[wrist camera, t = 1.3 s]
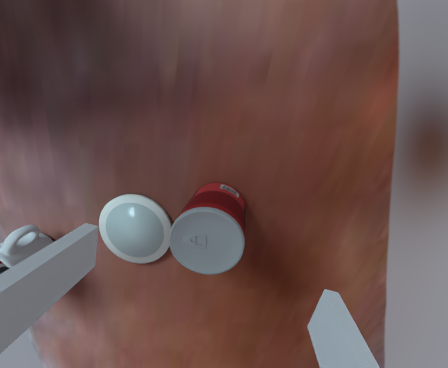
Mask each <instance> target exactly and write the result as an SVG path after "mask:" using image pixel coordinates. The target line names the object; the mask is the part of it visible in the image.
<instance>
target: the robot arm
mask: <svg viewBox="0 0 448 368" xmlns="http://www.w3.org/2000/svg"><path fill="white" fill-rule="evenodd" d="M97 238H98V226H95V225H91V224H88V223H85V224H83V225H82V226H80V227H78V228H76V229H75V230H73V231H71V232H70V233H68V234H66V235H65V236H63V237H61V238H60V239H58V240H56V241H55V242H53V243H51V244H50V245H48V246H46V247H45V248H43V249H41V250H40V251H38V252H36V253H35V254H33V255H31V256H30V257H28V258H26V259H25V260H23V261H21V262H20V263H18V264H16V265H15V266H13V267H11V268H9V267H6V266H4V267H1V268H0V354H1V353H2V352H3V351H4V350H5V349H6V348H7V347H8V346H9V345H10V344H11V343H12V342H14V341H15V340H16V339H17V338H18V337H19V336H20V335H21V334H22V333H23V332H24V331H26V330H27V329H28V328H29V327H30V326H31V325H32V324H33V323H34V322H35V321H36V320H37V319H39V318H40V317H41V316H42V315H43V314H44V313H45V312H46V311H47V310H48V309H49V308H50V307H52V306H53V305H54V304H55V303H56V302H57V301H58V300H59V299H60V298H61V297H62V296H63V295H65V294H66V293H67V292H68V291H69V290H70V289H71V288H72V287H73V286H74V285H75V284H77V283H78V282H79V281H80V280H81V279H82V278H83V277H84V276H85V275H86V274H87V273H88V272H90V271H91V270H92V269H93V268H94V267H95V262H96V250H97ZM307 327H308V330H309V333H310V337H311V340H312V343H313V347H314V350H315V353H316V357H317V360H318V363H319V367H320V368H380V367H379V366H378V364H377V362H376V360H375V358H374V357H373V355H372V353H371V351H370V349H369V347H368V346H367V344H366V342H365V340H364V338H363V337H362V335H361V333H360V331H359V329H358V327H357V326H356V324H355V322H354V320H353V318H352V317H351V315H350V313H349V311H348V309H347V307H346V306H345V304H344V302H343V300H342V298H341V297H340V295H339V293H338V292H334V291H330V290H327V289H324V291H323V293H322V296H321V298H320V300H319V302H318V304H317V307H316V309H315V311H314V313H313V315H312V317H311V320H310V322H309V324H308V326H307Z"/></svg>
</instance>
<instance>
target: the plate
mask: <svg viewBox="0 0 448 368" xmlns="http://www.w3.org/2000/svg"><path fill="white" fill-rule="evenodd" d="M171 227H172V223H171V220H170V218H169V216H168V214H167V213H166V211H165V210H164V209H163V208H162V207H161V206H160V205H159V204H158V203H157V202H156V201H154V200H152V199H151V198H149V197H146V196H143V195H139V194H124V195H121V196H118V197H116V198H114V199H113V200H111V201H110V202H108V203H107V204H106V205H105V207H104V208H103V210H102V212H101V214H100V218H99V230H100V234H101V236H102V239H103V241H104V242H105V244H106V245H107V247H108V248H109V249H110V250H111V251H112V252H113V253H114V254H116V255H117V256H118V257H120V258H122V259H124V260H126V261H129V262H133V263H149V262H153V261H155V260H157V259H159V258H160V257H161V256H163V255H164V253H165V252H166V251H167V249H168V248H169V233H170V230H171Z"/></svg>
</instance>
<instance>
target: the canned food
mask: <svg viewBox="0 0 448 368" xmlns="http://www.w3.org/2000/svg"><path fill="white" fill-rule="evenodd" d="M169 246H170V249H171V252H172V253H173V255H174V257H175V258H176V259H177V261H178V262H179V263H180V264H182V265H183V266H184V267H186V268H187V269H189V270H191V271H194V272H196V273H200V274H208V275H213V274H219V273H223V272H226V271H227V270H229V269H231V268H232V267H234V266H235V265H236V264H237V263H238V261H239V260H240V259H241V256H242V254H243V251H244V246H245V204H244V200H243V198H242V196H241V195H240V193H239V192H238V191H237V190H236V189H235V188H233V187H231V186H230V185H227V184H224V183H210V184H207V185H205V186H203V187H201V188H200V189H199V190H198V191H197V192H196V193H195V194H194V196H193V197H192V198H191V200H190V201H189V202H188V204H187V205H186V206H185V208H184V209H183V210H182V212H181V213H180V214H179V216H178V217H177V219H176V220H175V222H174V223H173V225H172V227H171V230H170V233H169Z"/></svg>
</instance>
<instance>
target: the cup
mask: <svg viewBox="0 0 448 368" xmlns="http://www.w3.org/2000/svg"><path fill="white" fill-rule="evenodd" d="M51 243H53V240H52V239H51V238H50V237H48V236H47V235H45V234H42V233H40V229H39V228H38V227H37V226H35V225H27V226H23V227H21V228H19V229H17V230H15V231H14V232H12V233H11V234H10V235H9V236H8V237H7V238H6V240H5V241H4V242H3V243H1V244H0V268H1V267H4V266H6V267H9V268H11V267H13V266H15V265H16V264H18V263H20V262H21V261H23V260H25V259H26V258H28V257H30V256H31V255H33V254H35V253H36V252H38V251H40V250H41V249H43V248H45V247H46V246H48V245H50V244H51Z"/></svg>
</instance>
